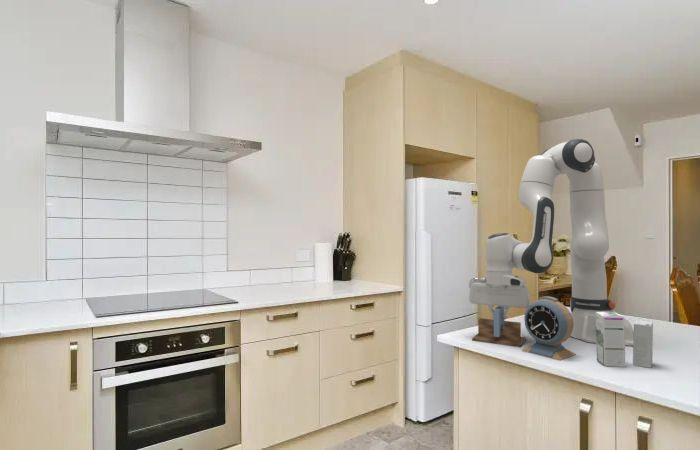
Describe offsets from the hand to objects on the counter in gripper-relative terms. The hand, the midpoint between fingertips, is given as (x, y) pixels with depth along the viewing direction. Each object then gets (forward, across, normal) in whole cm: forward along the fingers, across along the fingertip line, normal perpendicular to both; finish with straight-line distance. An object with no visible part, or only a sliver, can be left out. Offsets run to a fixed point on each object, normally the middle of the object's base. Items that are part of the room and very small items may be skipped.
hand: (499, 318), depth 145 cm
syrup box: (+8, +33, -11) cm, 35 cm away
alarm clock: (+8, +16, -8) cm, 20 cm away
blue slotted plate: (+5, 0, 0) cm, 5 cm away
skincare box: (+8, +41, -7) cm, 42 cm away
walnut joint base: (+8, 0, 0) cm, 8 cm away
